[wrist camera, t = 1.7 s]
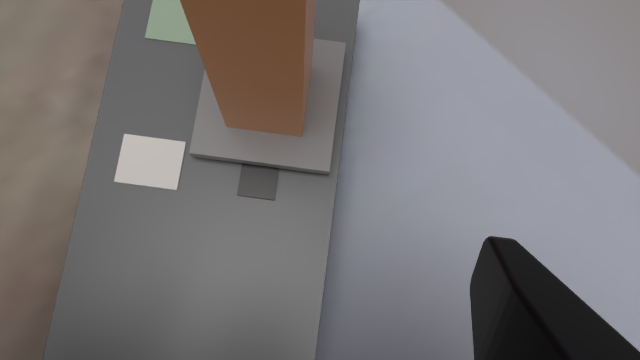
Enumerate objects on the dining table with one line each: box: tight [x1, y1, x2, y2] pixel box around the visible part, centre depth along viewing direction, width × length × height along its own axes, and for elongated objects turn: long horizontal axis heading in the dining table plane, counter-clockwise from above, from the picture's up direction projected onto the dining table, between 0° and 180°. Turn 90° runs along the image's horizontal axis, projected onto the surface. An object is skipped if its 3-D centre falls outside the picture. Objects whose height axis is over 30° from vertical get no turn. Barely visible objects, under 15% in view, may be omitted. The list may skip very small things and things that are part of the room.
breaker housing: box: [42, 0, 360, 360], centre depth 19 cm, size 22×8×3 cm, turn 173°
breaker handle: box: [180, 0, 346, 175], centre depth 14 cm, size 4×4×11 cm
